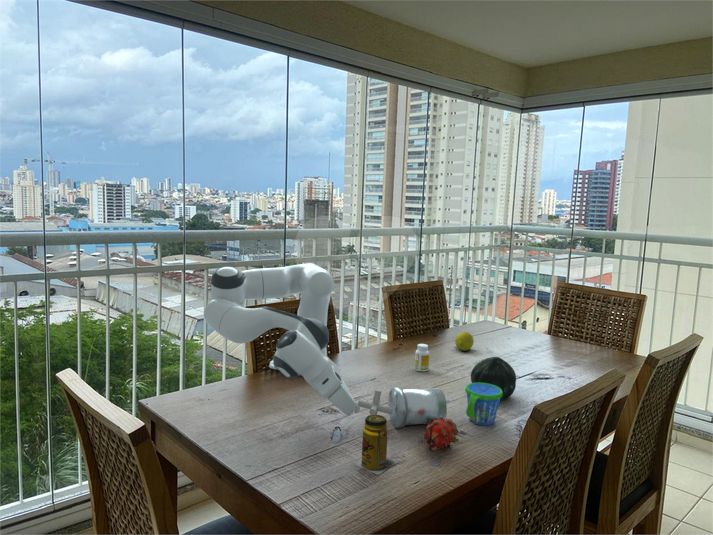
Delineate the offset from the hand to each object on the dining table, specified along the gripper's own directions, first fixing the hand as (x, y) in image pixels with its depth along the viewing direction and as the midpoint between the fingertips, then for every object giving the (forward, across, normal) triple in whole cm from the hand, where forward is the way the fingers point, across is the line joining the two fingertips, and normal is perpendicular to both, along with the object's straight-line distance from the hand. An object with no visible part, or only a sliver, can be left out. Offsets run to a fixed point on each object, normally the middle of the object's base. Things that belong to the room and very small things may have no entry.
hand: (357, 409), depth 149 cm
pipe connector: (+7, -1, 0) cm, 7 cm away
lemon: (+49, -72, +42) cm, 96 cm away
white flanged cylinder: (+16, -1, +9) cm, 19 cm away
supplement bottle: (+29, -47, +22) cm, 59 cm away
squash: (+40, -19, +33) cm, 55 cm away
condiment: (+4, +21, -4) cm, 22 cm away
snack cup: (+31, 0, +23) cm, 39 cm away
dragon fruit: (+17, +15, +10) cm, 25 cm away
